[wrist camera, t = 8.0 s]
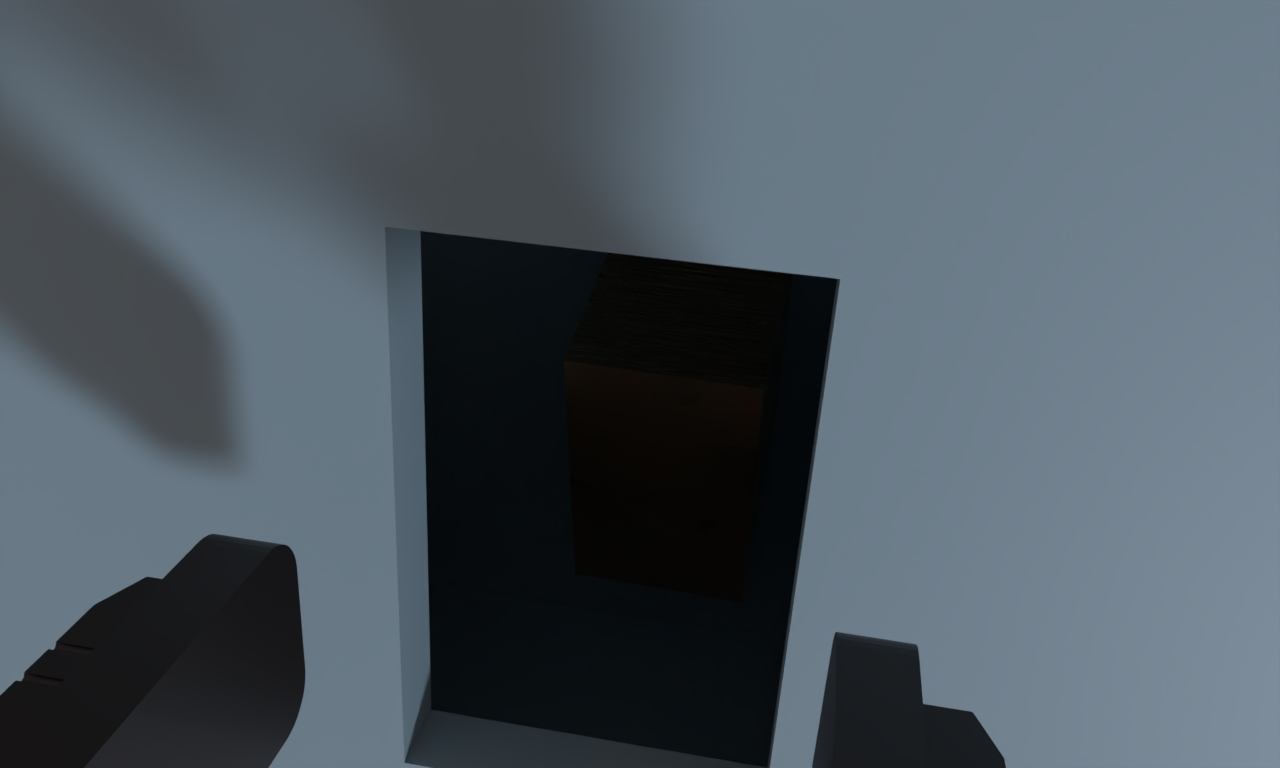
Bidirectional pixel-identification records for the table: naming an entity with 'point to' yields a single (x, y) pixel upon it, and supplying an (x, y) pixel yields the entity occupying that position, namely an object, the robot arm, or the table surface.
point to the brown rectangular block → (673, 420)
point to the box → (551, 311)
